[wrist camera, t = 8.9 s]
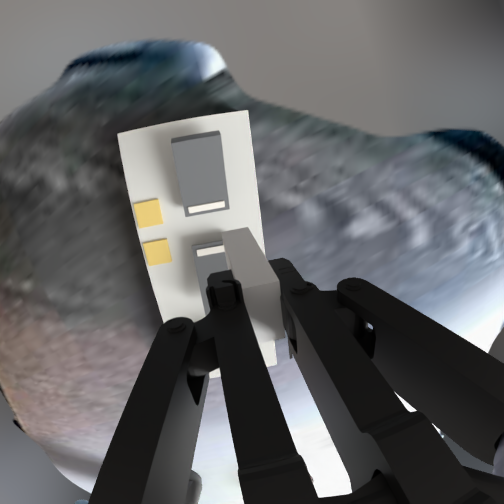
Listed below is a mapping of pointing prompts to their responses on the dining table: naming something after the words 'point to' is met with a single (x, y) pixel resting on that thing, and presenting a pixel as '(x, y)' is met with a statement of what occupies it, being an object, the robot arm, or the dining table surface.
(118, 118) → the dining table surface
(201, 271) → the rocker middle
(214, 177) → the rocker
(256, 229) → the switch console
